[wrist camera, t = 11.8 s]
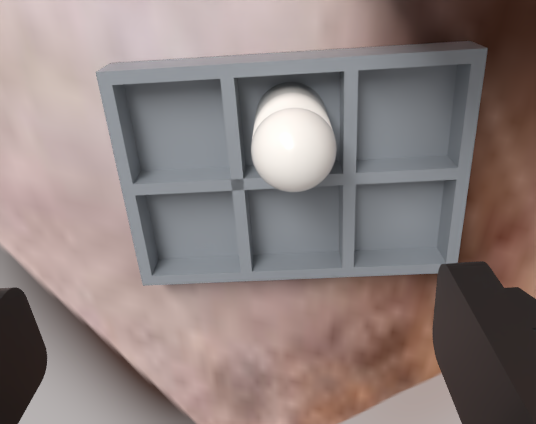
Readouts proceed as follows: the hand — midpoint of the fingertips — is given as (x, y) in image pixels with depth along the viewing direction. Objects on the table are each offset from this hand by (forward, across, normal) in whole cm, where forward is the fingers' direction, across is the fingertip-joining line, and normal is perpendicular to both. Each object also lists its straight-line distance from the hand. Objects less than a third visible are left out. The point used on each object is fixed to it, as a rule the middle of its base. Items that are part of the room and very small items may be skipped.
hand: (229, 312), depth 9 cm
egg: (+23, -2, +3) cm, 24 cm away
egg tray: (+24, -2, +7) cm, 25 cm away
